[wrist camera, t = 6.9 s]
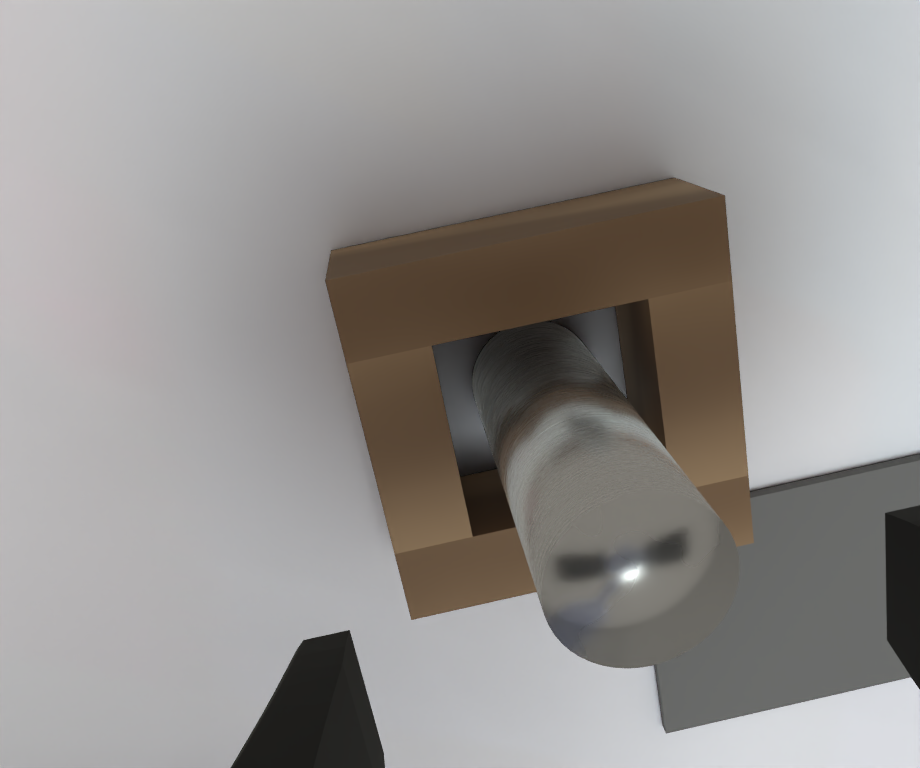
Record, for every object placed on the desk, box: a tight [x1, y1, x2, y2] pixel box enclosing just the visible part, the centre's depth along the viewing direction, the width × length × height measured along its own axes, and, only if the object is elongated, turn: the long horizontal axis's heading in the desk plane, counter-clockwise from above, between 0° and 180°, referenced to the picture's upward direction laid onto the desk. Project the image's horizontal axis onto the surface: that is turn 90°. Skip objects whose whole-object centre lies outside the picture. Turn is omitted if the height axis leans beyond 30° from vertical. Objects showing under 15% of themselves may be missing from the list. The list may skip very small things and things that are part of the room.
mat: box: [654, 454, 920, 733], centre depth 24 cm, size 7×8×1 cm
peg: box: [472, 321, 740, 668], centre depth 17 cm, size 3×3×9 cm
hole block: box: [325, 178, 754, 620], centre depth 20 cm, size 8×8×3 cm
